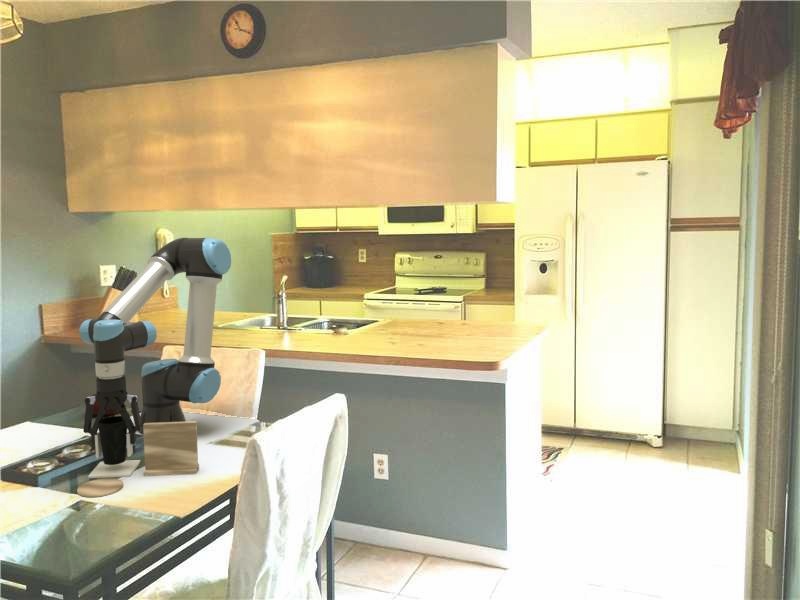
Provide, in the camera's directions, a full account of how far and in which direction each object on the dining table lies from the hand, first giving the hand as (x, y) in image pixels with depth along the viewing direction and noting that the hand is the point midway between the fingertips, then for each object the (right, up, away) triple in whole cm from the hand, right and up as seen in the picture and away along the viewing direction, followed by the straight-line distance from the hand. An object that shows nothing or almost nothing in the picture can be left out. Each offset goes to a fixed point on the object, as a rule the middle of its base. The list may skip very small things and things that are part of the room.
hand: (114, 455), depth 184 cm
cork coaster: (+2, -6, -12) cm, 14 cm away
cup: (0, -2, 0) cm, 2 cm away
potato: (-27, +2, +53) cm, 59 cm away
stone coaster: (0, -4, +1) cm, 4 cm away
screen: (+16, -4, 0) cm, 17 cm away
